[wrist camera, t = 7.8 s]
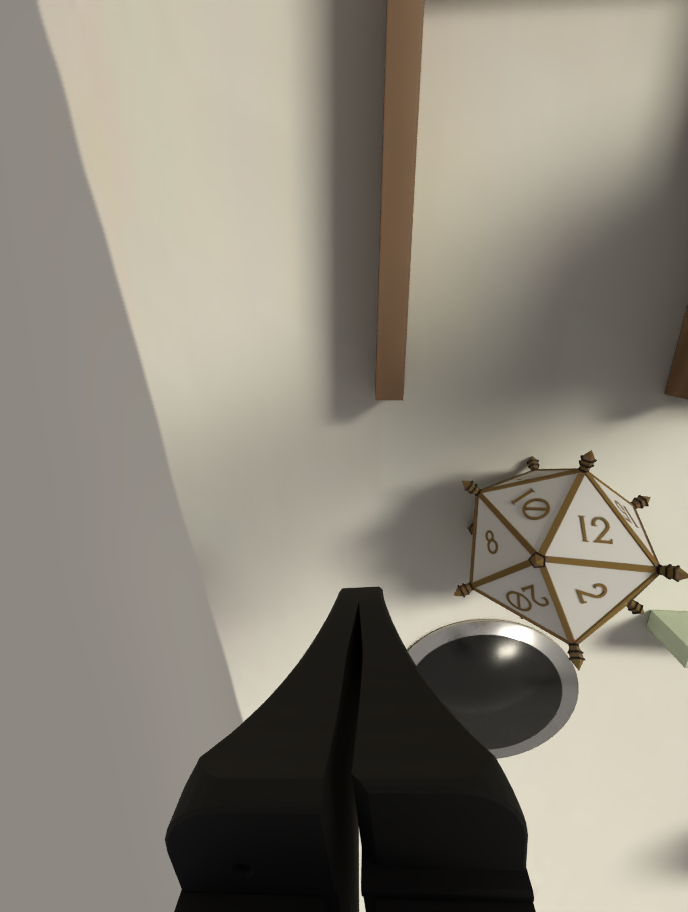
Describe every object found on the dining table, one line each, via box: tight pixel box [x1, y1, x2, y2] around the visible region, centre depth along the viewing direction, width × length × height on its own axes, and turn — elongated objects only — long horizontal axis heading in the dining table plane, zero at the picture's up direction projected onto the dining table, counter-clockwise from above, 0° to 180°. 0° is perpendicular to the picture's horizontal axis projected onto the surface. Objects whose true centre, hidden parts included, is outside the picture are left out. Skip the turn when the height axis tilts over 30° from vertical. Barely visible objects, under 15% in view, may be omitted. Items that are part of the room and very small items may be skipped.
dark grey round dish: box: [408, 619, 578, 759], centre depth 25 cm, size 12×12×1 cm
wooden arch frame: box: [375, 0, 688, 400], centre depth 15 cm, size 15×18×3 cm
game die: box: [454, 450, 688, 670], centre depth 18 cm, size 9×8×10 cm
